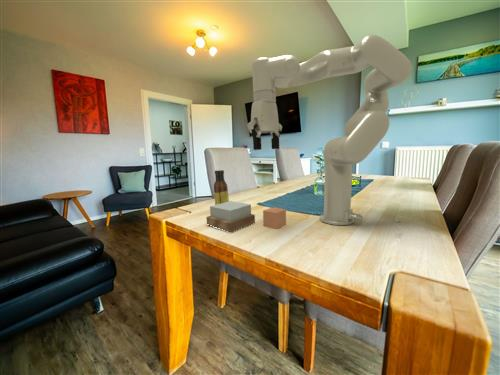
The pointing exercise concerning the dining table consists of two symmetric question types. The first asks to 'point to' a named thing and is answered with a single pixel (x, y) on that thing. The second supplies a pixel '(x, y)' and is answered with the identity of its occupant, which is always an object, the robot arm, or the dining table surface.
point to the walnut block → (231, 223)
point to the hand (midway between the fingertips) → (266, 149)
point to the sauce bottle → (220, 188)
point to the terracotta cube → (274, 217)
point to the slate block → (230, 210)
